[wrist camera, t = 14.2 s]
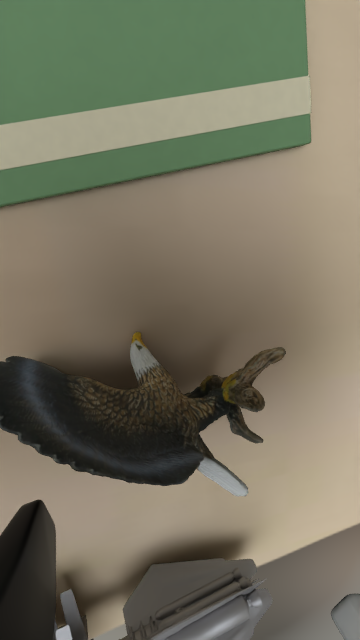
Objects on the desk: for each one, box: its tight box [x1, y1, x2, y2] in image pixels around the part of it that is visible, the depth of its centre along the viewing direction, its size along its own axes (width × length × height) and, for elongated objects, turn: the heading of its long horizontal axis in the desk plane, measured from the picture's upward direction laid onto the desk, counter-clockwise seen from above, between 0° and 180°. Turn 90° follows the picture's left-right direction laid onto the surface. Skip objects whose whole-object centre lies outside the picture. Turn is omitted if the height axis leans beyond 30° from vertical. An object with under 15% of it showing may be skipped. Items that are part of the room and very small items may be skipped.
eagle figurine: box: [0, 332, 286, 496], centre depth 11 cm, size 8×7×9 cm
